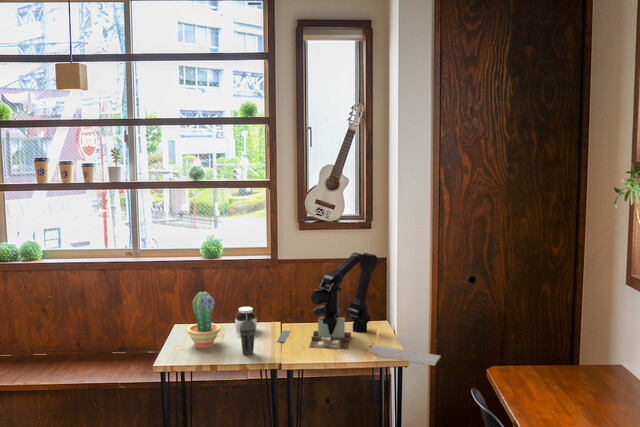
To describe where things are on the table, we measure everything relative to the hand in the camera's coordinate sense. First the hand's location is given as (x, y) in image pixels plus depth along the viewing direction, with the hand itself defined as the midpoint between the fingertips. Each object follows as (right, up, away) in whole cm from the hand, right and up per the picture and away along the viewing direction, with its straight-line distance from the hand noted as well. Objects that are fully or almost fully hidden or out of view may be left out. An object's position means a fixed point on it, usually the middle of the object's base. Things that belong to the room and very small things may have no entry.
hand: (331, 332), depth 285 cm
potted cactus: (-59, -5, -5) cm, 60 cm away
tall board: (0, -3, 0) cm, 3 cm away
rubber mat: (-18, -3, +5) cm, 19 cm away
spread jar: (-42, -2, +12) cm, 44 cm away
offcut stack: (-1, -4, -9) cm, 10 cm away
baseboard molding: (+31, -7, -19) cm, 37 cm away
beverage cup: (-37, -6, -17) cm, 42 cm away
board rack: (0, -4, -3) cm, 6 cm away
